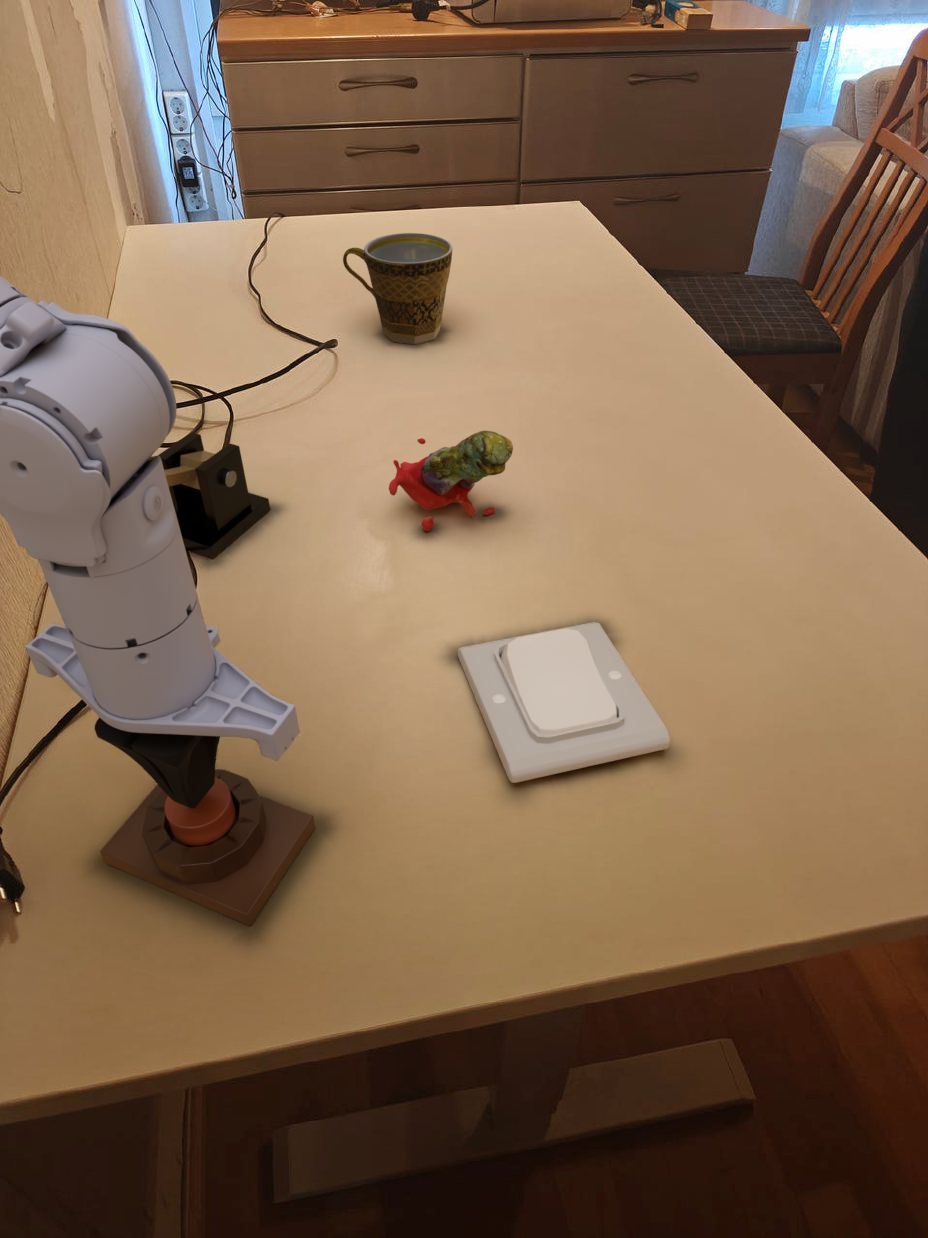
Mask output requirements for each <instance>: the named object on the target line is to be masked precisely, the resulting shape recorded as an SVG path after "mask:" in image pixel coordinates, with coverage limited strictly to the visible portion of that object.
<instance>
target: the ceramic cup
mask: <svg viewBox="0 0 928 1238" xmlns="http://www.w3.org/2000/svg"><path fill="white" fill-rule="evenodd" d="M352 254H353V255H355V256H357V257H359V258H360V259H362V260H363V261H364V263H365V265H366V268H367V272H368V275H369V280H370V283H371V284H370V285H371V286H370V285H369V284H368V282H367V281H366V280H365V279H364V278H363V277H362V276H361V275H360V274H358V273H357V272H355V270H353V269H352V267H351V266H350V265H349V264H348V259H347V258H348V255H352ZM452 258H453V245H452V244H451V242H449V241H448V240H447V239H445V238H443V237H440V236H437V235H434V234H433V235H432V234H427V233H421V232H420V233H419V232H403V233H401V232H400V233H393V234H386V235H382V236H379V237H376V238H374V239H372V240H370V241H369V242H367V243H366V244H365V245H364V248H360V247H350V248H348V249H347V250H346V251H345V252H344V254H343V257H342V263H343V266H344V268H345V270H346V271H347V272H348V273H349V274H350V275H351V276H353V277H354V278H355V279H356V280H358V281H359V282H360V283H361V285H362V286H363V287H364V288H365V289H366V291H368V292H369V293H371V295H372V296H373V297H374V299H375V303H376V307H377V312H378V315H379V319H380V325H381V329H382V333H383V335H384V336H385V337H386V338H388V339H389V340H390V341H391V342H394V343H398V344H408V345H418V344H423V343H426V342H427V343H428V342H431V341H434V340H435V339H436V338H437V336H438V334H439V333H440V331H441V326H442V321H443V313H444V307H445V306H444V305H445V300H446V293H447V285H448V283H449V277H450V273H451V265H452V260H453V259H452Z"/></svg>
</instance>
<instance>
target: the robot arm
mask: <svg viewBox="0 0 928 1238" xmlns="http://www.w3.org/2000/svg"><path fill="white" fill-rule="evenodd" d="M176 419H177V399H176V394H175V391H174V388H173V384H172V382H171V380H170V378H169V376H168V374H167V372H166V371H165V369H164V367H163V366H162V364H161V363H160V362H159V359H157V357H155V355H154V354H153V353H152V352H151V350H149V349H148V348H147V347H146V346H145V345H144V344H143V343H142V342H140V340H138V339H137V337H135V335H134V334H133V333H132V332H131V330H129V328H127V327H126V326H124V325H123V324H121V323H118V322H116V321H114V320H112V319H109V318H107V317H103V316H100V315H95V314H90V313H89V314H88V313H73V312H70V311H67V310H65V309H64V308H62V307H61V306H59V305H58V304H57V303H55V302H54V301H52V302H50V303H47V302H46V301H45V300H40V301H39V302H35V300H33V299H31V298H30V297H29V296H27V295H26V294H25V293H24V292H23V291H21V290H20V289H19V288H17V287H16V286H14V285H13V284H11V283H10V282H9V281H8V280H7V279H5V278H4V277H2V276H1V275H0V515H1V516H2V517H3V518H4V519H5V521H6V522H7V524H8V526H9V528H10V529H11V533H12V534H13V536H14V538H15V541H16V544H17V546H19V547H21V548H24V549H25V550H26V552H27V555H28V556H30V557H31V558H33V559H36V560H37V561H38V563H39V567H40V568H41V571H42V573H43V576H44V578H45V580H46V583H47V585H48V587H49V590H50V593H51V595H52V597H53V600H54V602H55V605H56V607H57V609H58V612H59V614H60V616H61V619H62V622H63V624H64V625H62V624H58V623H56V622H52V623H51V624H49V625H48V626H47V627H46V628H45V629H43V630H42V631H41V632H40V633H39V634H38V635H36V636H35V637H34V638H33V639H32V640H31V641H30V642H28V643H27V644H26V645H25V646H24V648H25V650H26V652H27V655H28V657H29V659H30V661H31V663H32V665H33V667H34V670H35V671H36V674H38V675H41V676H44V677H47V678H55V677H56V676H58V677H59V678H60V679H61V680H62V681H63V682H64V683H65V684H66V685H67V686H68V687H69V688H70V689H71V690H72V691H73V692H74V694H76V695H77V696H78V697H79V698H80V699H81V700H82V701H83V702H84V703H85V704H86V705H87V706H88V707H89V708H90V709H91V710H92V711H93V712H94V713H95V714H96V715H97V716H98V719H96V721H95V723H94V732H95V735H96V737H97V739H100V740H102V741H104V742H106V743H108V744H110V745H112V746H113V747H115V748H117V749H119V750H120V751H121V752H123V753H124V754H125V755H127V756H129V757H130V759H132V760H133V761H134V762H136V763H137V765H139V766H140V767H141V768H142V769H143V770H144V771H145V772H146V773H147V774H148V775H149V776H150V777H151V778H152V780H153V781H154V783H156V785H157V784H158V785H159V786H160V787H161V789H162V790H163V791H164V792H165V793H166V794H167V795H168V796H169V797H170V798H171V799H172V800H173V801H174V802H177V803H179V804H182V805H184V806H187V807H189V808H192V809H193V808H195V807H196V806H197V805H198V804H199V802H200V801H201V800H202V799H203V797H204V796H205V795H206V794H207V792H208V791H209V790H210V789H211V787H212V786H213V785H214V784H215V770H216V763H217V755H218V748H219V743H220V739H221V737H225V738H226V737H227V738H241V739H250V740H253V741H256V743H257V745H258V748H259V752H260V756H263V757H265V758H267V759H271V760H273V761H276V762H277V761H278V762H279V761H280V760H281V759H282V757H283V755H285V753H286V752H287V751H288V749H289V748H290V747H291V746H292V745H293V742H294V741H295V739H296V738H297V737H298V735H299V734H300V732H301V730H300V725H299V720H298V715H297V708H296V705H295V704H293V703H290V702H288V701H285V700H283V699H280V698H279V697H277V696H274V695H273V694H272V693H270V692H269V691H267V690H266V689H265V688H264V687H262V686H261V685H260V684H259V683H257V682H256V681H255V680H254V679H252V678H251V677H250V676H249V675H248V674H247V673H245V672H244V671H243V670H241V668H239V667H238V666H237V665H235V664H234V663H233V662H232V661H231V660H229V659H228V658H227V657H226V656H224V655H223V654H222V653H221V652H220V651H218V650H217V649H216V647H217V646H218V645H219V643H220V641H221V638H220V633H219V630H218V628H217V627H215V626H212V625H209V624H206V623H205V618H204V615H203V611H202V607H201V604H200V601H199V599H200V598H199V596H198V591H197V588H196V584H195V581H194V577H193V572H192V569H191V565H190V561H189V557H188V554H187V550H186V549H185V546H184V543H183V539H182V535H181V531H180V528H179V524H178V520H177V516H176V513H175V509H174V505H173V502H172V498H171V494H170V490H169V487H168V483H167V479H166V476H165V472H164V468H163V464H162V461H161V458H160V456H158V455H154V454H155V452H157V451H158V450H159V448H161V446H163V443H164V442H165V441H166V438H168V436H169V435H170V433H171V432H172V430H173V428H174V427H175V423H176Z"/></svg>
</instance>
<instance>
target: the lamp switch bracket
mask: <svg viewBox="0 0 928 1238" xmlns="http://www.w3.org/2000/svg"><path fill="white" fill-rule="evenodd" d="M199 451H205V447H204V444H203V439H202V435H201V434H199V433H196V432H192V431H191V432H189V433H188V434H187V435H185V436H184V437H182V438H181V439H179V440H178V441H177V442H175V443H174V444H172V445H171V446H169V447H168V448H166V449H164V450H163V451H161V452H160V453H159V454H157V456H160V458H161V461H162V464H163V468H164V470H168V469H172V468H177V467H180V461H181V455H185V454H190V453H195V452H199ZM214 454H215V455H213V456H212V457H210V458H209V459H208V460H206V461H205V462H204V463H202V464H201V465H200V466H198V467H197V468H195V470H196V475H197V479H198V483H199V487H200V490H199V489H196V488H192V487H189V486H186V485H183V484H178V485H174V486H170V487H169V490H170V494H171V498H172V502H173V505H174V509H175V513H176V516H177V520H178V524H179V528H180V531H181V535H182V539H183V543H184V546H185V550H186V551H189V552H191V553H195V554H197V555H200V556H203V557H206V558H209V559H211V560H214V559H215V558H216V557H217V556H219V555H220V554H221V553H222V552H223V551H224V550H226V549H227V548H228V547H229V546H230V545H231V544H233V543H234V542H235V541H236V540H237V539H238V538H239V537H241V535H243V534H244V533H245V532H246V531H248V530H249V529H250V528H251V527H253V525H255V524H256V523H257V522H258V521H259V520H260V519H262V518H263V517H264V516H265V515H266V514H267V513H268V512H270V511H271V505H270V500H269V498H267V497H264V496H262V495H259V494H254V493H251V492H249V489H248V485H247V479H246V473H245V469H244V464H243V459H242V458H243V457H242V453H241V447H240V446H239V445H237V444H233V443H228V444H227V445H225V446H224V447H223V448H221V449H220V450H218V451H217V452H216V453H214Z"/></svg>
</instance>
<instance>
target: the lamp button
mask: <svg viewBox="0 0 928 1238" xmlns="http://www.w3.org/2000/svg"><path fill="white" fill-rule="evenodd" d="M165 814H166V817H167V820H168V822H169V825H170V827H171V830H172V832H173V835H174V836H175V837H176V838H177V839H178V840H179V841H181V842H183V843H185V844H188V845H193V846H201V845H206V844H210V843H212V842H214V841H217V840H218V839H220V838H221V837H223V836H224V835H225V834H226V833H227V832H228V831H229V830H230V828H231V826H232V825H233V822H234V819H235V807H234V804H233V800H232V797H231V794H230V791H229V788H228V786H227V785H226V784H225V783H224V782H223V781H221V780H220V779H218V778H215V784H214V785H213V786H212V787H211V789H210V790H209V791H208V792H207V794H206V795H205V796H204V797H203V799H202V800H201V801H200V802H199V804H198V805H197V806H196V807H195V808H193V809H192V808H189V807H187V806H184V805H182V804H179V803H177V802H174V801H173V800H172V799H171V798H170V797H169V796H168V797H167V799H166V802H165Z"/></svg>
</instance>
